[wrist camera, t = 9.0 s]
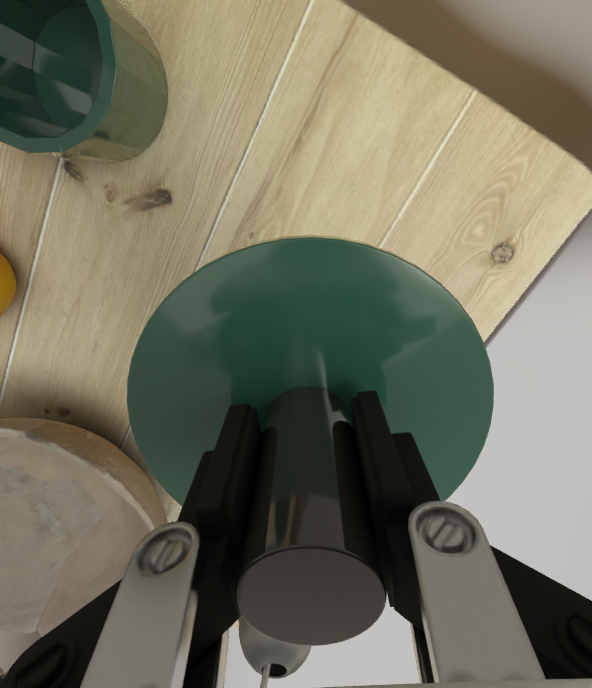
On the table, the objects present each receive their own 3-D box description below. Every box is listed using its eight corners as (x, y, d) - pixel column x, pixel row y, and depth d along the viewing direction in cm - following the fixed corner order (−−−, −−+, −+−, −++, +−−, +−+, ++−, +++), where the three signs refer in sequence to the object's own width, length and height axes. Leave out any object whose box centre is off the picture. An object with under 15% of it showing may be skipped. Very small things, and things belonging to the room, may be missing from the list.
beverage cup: (301, 546, 47) (299, 779, 28) (246, 530, 46) (206, 760, 27) (323, 505, 44) (336, 733, 26) (265, 488, 43) (235, 711, 25)
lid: (550, 321, 12) (832, 472, 5) (379, 557, 16) (426, 794, 10) (195, 164, 10) (24, 125, 4) (111, 471, 14) (-36, 685, 8)
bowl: (-37, 522, 46) (-122, 604, 37) (-32, 339, 37) (-146, 389, 27) (167, 576, 49) (135, 665, 40) (222, 420, 40) (196, 491, 30)
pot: (183, 35, 27) (133, -28, 19) (150, 183, 31) (97, 181, 23) (35, -34, 26) (-84, -133, 18) (20, 129, 29) (-83, 107, 22)
